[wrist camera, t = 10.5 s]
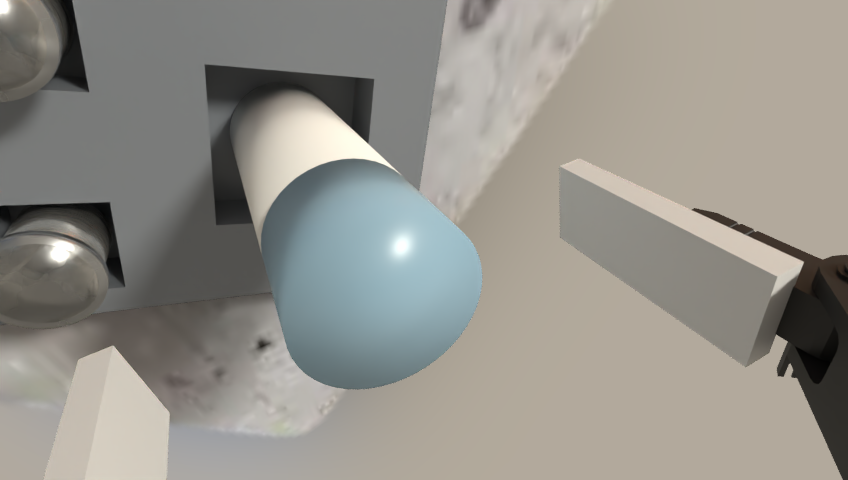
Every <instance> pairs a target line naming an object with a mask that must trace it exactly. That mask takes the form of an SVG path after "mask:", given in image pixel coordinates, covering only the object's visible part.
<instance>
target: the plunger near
mask: <svg viewBox="0 0 848 480" xmlns="http://www.w3.org/2000/svg"><path fill="white" fill-rule="evenodd" d="M73 39H74V27H73V22H72V18H71V16H70V13H69V11H68V9H67V7H66V5H65V4H64V2H63V1H62V0H0V102H7V101H13V100H17V99H21V98H24V97H27V96H29V95H31V94H33V93H35V92H37V91H38V90H39V89H41V88H42V87H43V86H44V85H46V84H47V83H48V82H49V81H50V80H51V79H52V78H53V76H54V75H55V73H56V72H57V70H58V67H59V65H60V62H61V60H62V59H63V58H64V57H65V56H66V55H67V53H68V52H69V50H70V49H71V46H72V43H73Z"/></svg>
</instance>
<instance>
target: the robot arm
mask: <svg viewBox="0 0 848 480" xmlns="http://www.w3.org/2000/svg"><path fill="white" fill-rule="evenodd" d="M559 170H560V238H562V239H563V240H564V241H566V242H567V243H569V244H570V245H572V246H573V247H575V248H576V249H577V250H579V251H580V252H582V253H583V254H585V255H586V256H587V257H589V258H590V259H592V260H593V261H595V262H596V263H597V264H599V265H600V266H602V267H603V268H604V269H606V270H607V271H609V272H610V273H612V274H613V275H615V276H616V277H617V278H619V279H620V280H622V281H623V282H624V283H626V284H627V285H629V286H630V287H632V288H633V289H635V290H636V291H638V292H639V293H640V294H642V295H643V296H645V297H646V298H647V299H649V300H650V301H652V302H653V303H655V304H656V305H658V306H659V307H660V308H662V309H663V310H665V311H666V312H667V313H669V314H670V315H672V316H673V317H675V318H676V319H677V320H679V321H680V322H682V323H683V324H685V325H686V326H688V327H689V328H690V329H692V330H693V331H695V332H696V333H698V334H699V335H700V336H702V337H703V338H705V339H706V340H708V341H709V342H710V343H712V344H713V345H715V346H716V347H718V348H719V349H721V350H722V351H723V352H725V353H726V354H728V355H729V356H730V357H732V358H733V359H735V360H736V361H738V362H739V363H740V364H742V365H744V366H745V367H747V366H749V365H750V364H752V363H754V362H755V361H757V360H758V359H760V358H762V357H763V356H765V355H766V354H768V353H769V352H770V349H771V346H772V344H773V341H774V338H775V336H776V334H777V335H778V336H780V337H781V338H783V339H785V340H787V341H788V343H787V345H786V348H785V350H784V352H783V355H782V357H781V360H780V362H779V365H778V367H777V373H778V376H782V377H783V376H784V374H785V372H786V370H787V367H788V365H789V364H790V363H791V365H792V367H793V373H792V376H791V377H793V378H797V379H798V381H799V383H800V385H801V388H802V390H803V392H804V394H805V396H806V398H807V401H808V403H809V405H810V408H811V410H812V412H813V414H814V416H815V419H816V421H817V423H818V425H819V428H820V430H821V432H822V434H823V436H824V439H825V441H826V443H827V445H828V448H829V450H830V452H831V454H832V456H833V459H834V461H835V463H836V465H837V467H838V470H839V472H840V474H841V476H842V478H843V480H848V255H839V256H832V257H829V258H826V259H824V260H822V259H820V258H817V257H815V256H813V255H810V254H808V253H806V252H803V251H801V250H799V249H797V248H794V247H792V246H790V245H788V244H785V243H783V242H781V241H778V240H776V239H774V238H772V237H770V236H767V235H765V234H763V233H761V232H758V231H757V232H754V230H753V229H752V228H749V227H747V226H745V225H743V224H740V225H739V224H738V223H737V222H736V221H734V220H731V219H729V218H727V217H725V216H722V215H720V214H718V213H714V212H709V211H704V210H700V209H695V208H694V209H692V210H690V209H688V208H686V207H684V206H681V205H679V204H677V203H675V202H673V201H670V200H668V199H666V198H664V197H662V196H660V195H657V194H655V193H653V192H651V191H649V190H647V189H645V188H642V187H640V186H638V185H636V184H634V183H632V182H629V181H627V180H625V179H623V178H621V177H618V176H616V175H614V174H612V173H610V172H608V171H606V170H603V169H601V168H599V167H597V166H594V165H592V164H590V163H588V162H586V161H584V160H581V159H576V160H574V161H571V162H569V163H567V164H564V165H562V166H560V168H559ZM169 421H170V413H169V411H168V410H167V409H166V408H165V407H164V405H163V404H162V403H161V402H160V401H159V399H158V398H157V397H156V396H155V395H154V393H153V392H152V391H151V390H150V389H149V388H148V386H147V385H146V384H145V383H144V382H143V380H142V379H141V378H140V377H139V376H138V374H137V373H136V372H135V371H134V370H133V368H132V367H131V366H130V365H129V364H128V362H127V361H126V360H125V359H124V358H123V356H122V355H121V354H120V353H119V352H118V351H117V349H116V348H115V347H114V346H110V347H108V348H105V349H103V350H100V351H98V352H95V353H93V354H90V355H88V356H85V357H83V358H80V359H78V363H77V366H76V370H75V373H74V376H73V380H72V383H71V386H70V390H69V393H68V397H67V400H66V403H65V407H64V410H63V414H62V417H61V420H60V424H59V427H58V431H57V434H56V437H55V441H54V444H53V447H52V451H51V454H50V458H49V461H48V464H47V468H46V471H45V475H44V478H43V480H167V461H168V441H169Z"/></svg>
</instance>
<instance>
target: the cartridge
mask: <svg viewBox="0 0 848 480" xmlns="http://www.w3.org/2000/svg"><path fill="white" fill-rule="evenodd" d="M230 139H231V143H232V147H233V151H234V155H235V158H236V162H237V166H238V169H239V173H240V177H241V180H242V184H243V188H244V191H245V195H246V199H247V202H248V206H249V210H250V213H251V217H252V221H253V224H254V228H255V232H256V235H257V239H258V243H259V246H260V250H261V254H262V257H263V261H264V265H265V268H266V272H267V276H268V279H269V283H270V287H271V290H272V294H273V298H274V301H275V305H276V309H277V312H278V316H279V320H280V323H281V327H282V331H283V334H284V338H285V342H286V345H287V349H288V351H289V353H290V355H291V357H292V359H293V360H294V362H295V363H296V364H297V366H298V367H299V368H300V369H301V370H302V371H303V372H304V373H305V374H307V375H308V376H310V377H311V378H313V379H314V380H316V381H319V382H321V383H323V384H325V385H329V386H332V387H336V388H343V389H369V388H375V387H380V386H384V385H388V384H391V383H394V382H397V381H400V380H402V379H404V378H407V377H409V376H411V375H413V374H415V373H417V372H418V371H420V370H422V369H423V368H425V367H427V366H428V365H430V364H431V363H432V362H434V361H435V360H436V359H437V358H439V357H440V356H441V355H442V354H444V353H445V351H447V350H448V349H449V347H451V346H452V345H453V344H454V342H455V341H456V340H457V339H458V338H459V336H460V335H461V334H462V332H463V331H464V329H465V328H466V327H467V325H468V323H469V321H470V320H471V318H472V316H473V314H474V311H475V309H476V307H477V304H478V300H479V297H480V293H481V287H482V269H481V263H480V259H479V256H478V253H477V251H476V249H475V247H474V245H473V244H472V242H471V241H470V239H469V238H468V237H467V236H466V235H465V234H464V233H463V232H462V231H461V230H460V229H459V228H458V227H457V226H456V225H455V224H453V223H452V222H451V221H450V220H449V219H448V218H447V217H446V216H445V215H444V214H443V213H442V212H441V211H440V210H438V209H437V208H436V207H435V206H434V205H433V204H432V203H431V202H430V201H429V200H428V199H427V198H426V197H424V196H423V195H422V194H421V193H420V192H419V191H418V190H417V189H416V188H415V187H414V186H413V185H412V184H411V183H409V182H408V181H407V180H406V179H405V178H404V177H403V176H402V175H401V174H400V173H399V172H398V171H397V170H395V169H394V168H393V167H392V166H391V165H390V164H389V163H388V162H387V161H386V160H385V159H384V158H383V157H382V156H380V155H379V154H378V153H377V152H376V151H375V150H374V149H373V148H372V147H371V146H370V145H369V144H368V143H366V142H365V141H364V140H363V139H362V138H361V137H360V136H359V135H358V134H357V133H356V132H355V131H354V130H353V129H351V128H350V127H349V126H348V125H347V124H346V123H345V122H344V121H343V120H342V119H341V118H340V117H339V116H337V115H336V114H335V113H334V112H333V111H332V110H331V109H330V108H329V107H328V106H327V105H326V104H325V103H324V102H322V101H321V100H320V99H319V98H318V97H317V96H316V95H315V94H313V93H312V92H311V91H309V90H307V89H305V88H303V87H301V86H298V85H295V84H291V83H270V84H266V85H263V86H260V87H258V88H256V89H254V90H253V91H251V92H250V93H248V94H247V95H246V96H245V97H244V98H243V99H242V100H241V101H240V102H239V104H238V105H237V107H236V109H235V111H234V113H233V115H232V119H231V123H230Z"/></svg>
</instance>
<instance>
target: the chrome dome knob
mask: <svg viewBox="0 0 848 480" xmlns="http://www.w3.org/2000/svg"><path fill="white" fill-rule="evenodd" d="M112 237H113V234H112V228H111V225H110V223H109V221H108V220H107V218H106V217H105V216H104V215H103V214H102V213H101V212H100V211H99V210H98V209H96V208H95V207H93V206H91V205H90V204H87V203H66V204H35V205H28V206H26V207H25V208H24V209H23V210H22V211H21V212H20V213H19V214H18V216H17V217H16V219H15V220H14V222H13V223H12V225H11V226H10V228H9V229H8V230H7V232H6V233H5V235H4V236H3V237H1V238H0V321H1V322H4V323H7V324H10V325H13V326H17V327H23V328H30V329H51V328H58V327H64V326H67V325H71V324H74V323H76V322H79V321H81V320H83V319H85V318H86V317H88V316H90V315H91V314H92V313H93V312H95V311H96V310H97V309H98V308H99V307H100V305H101V304H102V302H103V301H104V299H105V297H106V294H107V290H108V286H109V271H108V268H107V265H106V261H107V257H108V253H109V250H110V246H111V242H112Z"/></svg>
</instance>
